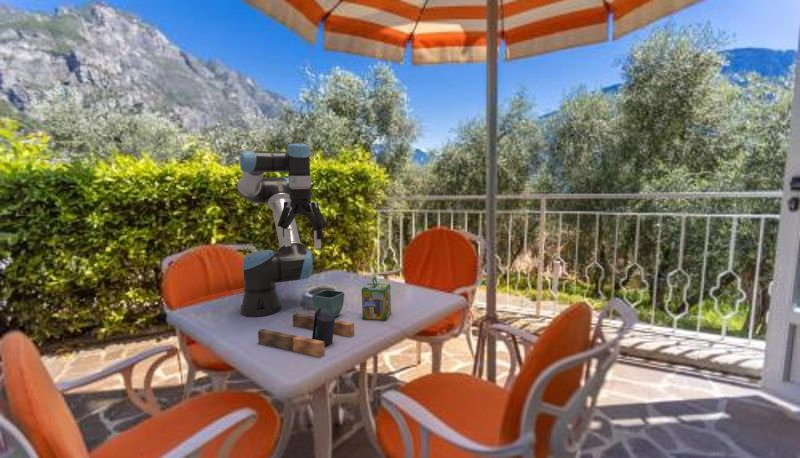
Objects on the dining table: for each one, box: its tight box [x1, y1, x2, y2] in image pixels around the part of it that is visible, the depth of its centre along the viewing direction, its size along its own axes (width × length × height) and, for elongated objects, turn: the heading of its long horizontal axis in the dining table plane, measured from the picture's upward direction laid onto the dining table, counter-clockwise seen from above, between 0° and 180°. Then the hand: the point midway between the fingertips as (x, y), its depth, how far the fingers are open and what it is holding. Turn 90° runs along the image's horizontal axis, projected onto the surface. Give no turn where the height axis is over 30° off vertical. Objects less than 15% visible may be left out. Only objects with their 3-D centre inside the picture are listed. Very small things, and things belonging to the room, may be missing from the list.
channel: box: [257, 312, 355, 358], centre depth 125 cm, size 24×18×4 cm
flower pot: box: [311, 289, 345, 318], centre depth 146 cm, size 9×9×9 cm
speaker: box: [311, 308, 336, 347], centre depth 122 cm, size 8×6×10 cm
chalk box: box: [361, 275, 392, 321], centre depth 145 cm, size 9×9×15 cm
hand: (302, 247), depth 141 cm, fingers open, 13 cm apart
